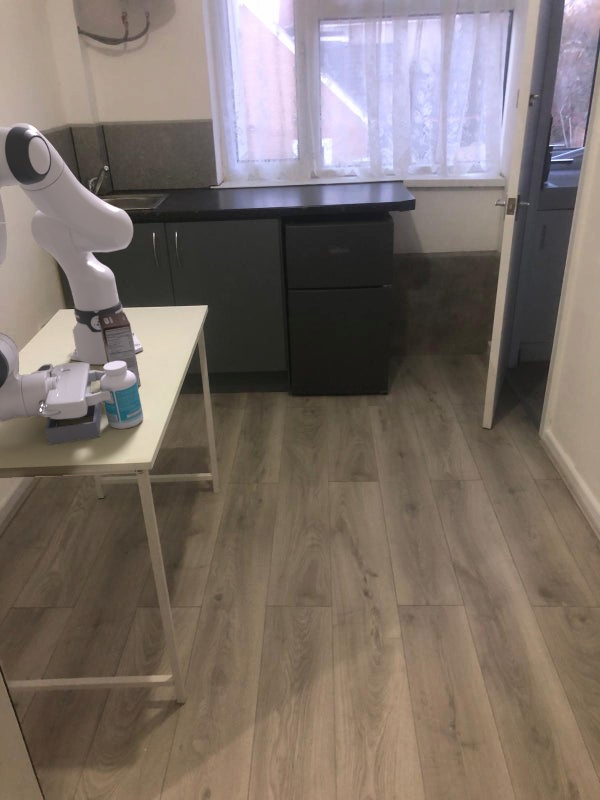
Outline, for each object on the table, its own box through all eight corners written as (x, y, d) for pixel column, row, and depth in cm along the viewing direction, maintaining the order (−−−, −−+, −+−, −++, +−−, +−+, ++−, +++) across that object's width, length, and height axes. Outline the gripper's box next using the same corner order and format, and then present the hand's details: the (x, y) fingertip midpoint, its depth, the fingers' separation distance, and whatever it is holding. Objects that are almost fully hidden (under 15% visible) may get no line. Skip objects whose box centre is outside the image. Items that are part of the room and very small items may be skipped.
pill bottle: (146, 412, 143) (136, 356, 137) (140, 429, 137) (129, 371, 130) (112, 414, 143) (101, 358, 137) (105, 431, 136) (92, 373, 130)
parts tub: (56, 411, 146) (53, 397, 144) (102, 405, 147) (99, 391, 146) (49, 444, 133) (45, 429, 131) (99, 437, 134) (95, 422, 133)
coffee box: (109, 376, 161) (97, 315, 154) (135, 371, 163) (124, 311, 156) (114, 391, 153) (101, 327, 146) (141, 385, 155) (130, 322, 148)
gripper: (31, 402, 123) (106, 392, 125) (44, 361, 140) (110, 352, 143) (39, 431, 125) (112, 420, 128) (51, 387, 143) (115, 378, 146)
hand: (111, 384), depth 136 cm, fingers open, 8 cm apart
